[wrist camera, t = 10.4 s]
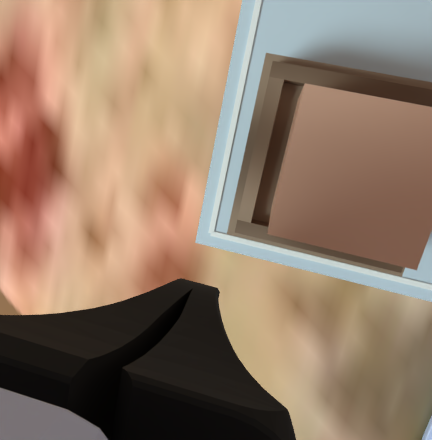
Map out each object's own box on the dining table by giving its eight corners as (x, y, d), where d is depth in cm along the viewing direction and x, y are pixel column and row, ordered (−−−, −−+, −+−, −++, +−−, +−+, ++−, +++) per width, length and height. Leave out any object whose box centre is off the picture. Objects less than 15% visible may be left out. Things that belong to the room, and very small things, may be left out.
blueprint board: (437, 297, 20) (446, 306, 19) (199, 237, 22) (194, 243, 21) (573, -46, 16) (593, -59, 15) (262, -86, 18) (261, -101, 17)
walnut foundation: (381, 252, 19) (407, 283, 15) (235, 218, 20) (223, 238, 16) (433, 98, 17) (480, 86, 13) (268, 68, 18) (265, 47, 14)
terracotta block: (375, 229, 16) (416, 270, 11) (271, 205, 16) (267, 234, 11) (410, 122, 15) (474, 114, 10) (297, 100, 15) (304, 83, 10)
